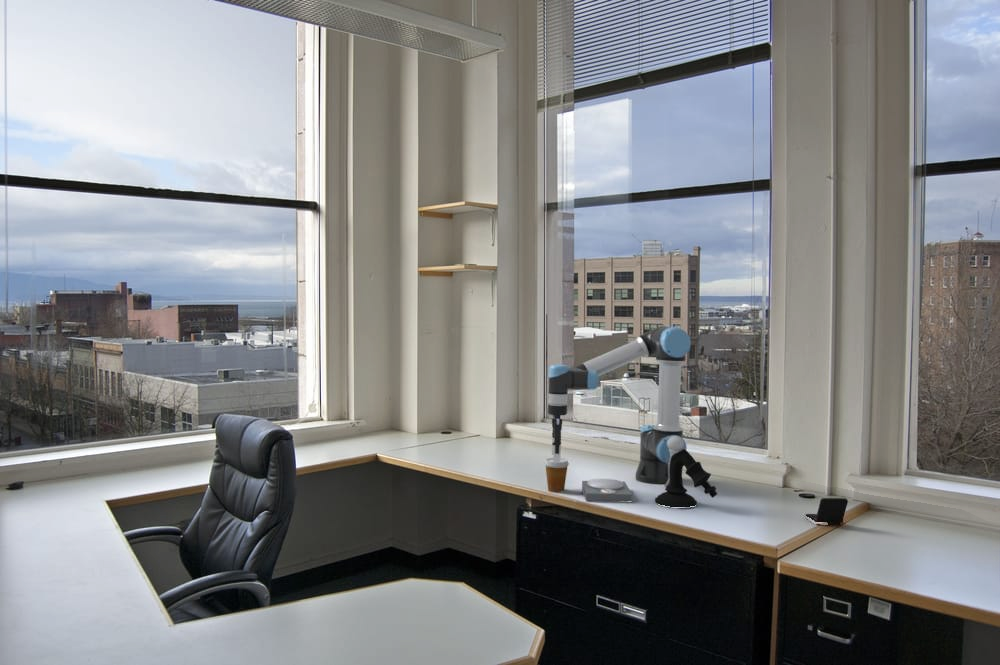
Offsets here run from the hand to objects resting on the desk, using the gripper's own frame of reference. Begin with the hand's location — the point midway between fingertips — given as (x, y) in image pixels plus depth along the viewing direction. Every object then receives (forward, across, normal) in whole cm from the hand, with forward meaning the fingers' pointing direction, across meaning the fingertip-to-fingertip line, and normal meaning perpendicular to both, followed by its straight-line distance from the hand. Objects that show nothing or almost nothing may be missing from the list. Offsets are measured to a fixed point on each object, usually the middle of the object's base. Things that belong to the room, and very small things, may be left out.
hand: (555, 458), depth 294 cm
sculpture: (+12, +18, +48) cm, 52 cm away
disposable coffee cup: (+13, 0, 0) cm, 13 cm away
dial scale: (+12, +5, +20) cm, 24 cm away
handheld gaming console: (+12, +36, +91) cm, 99 cm away
